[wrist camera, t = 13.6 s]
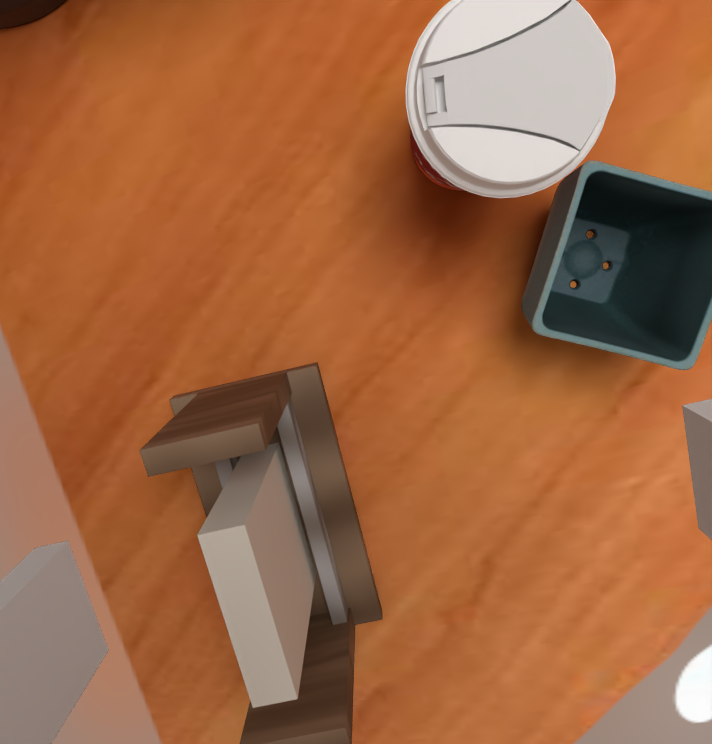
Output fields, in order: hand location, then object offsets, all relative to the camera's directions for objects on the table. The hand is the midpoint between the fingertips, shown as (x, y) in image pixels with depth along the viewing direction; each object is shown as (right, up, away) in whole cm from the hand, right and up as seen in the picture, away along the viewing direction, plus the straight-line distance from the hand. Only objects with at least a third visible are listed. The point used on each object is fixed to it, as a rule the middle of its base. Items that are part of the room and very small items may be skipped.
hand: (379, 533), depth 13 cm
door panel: (-6, -6, +30) cm, 31 cm away
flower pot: (+14, +10, +27) cm, 32 cm away
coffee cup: (+6, +18, +26) cm, 32 cm away
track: (-6, -6, +31) cm, 32 cm away
